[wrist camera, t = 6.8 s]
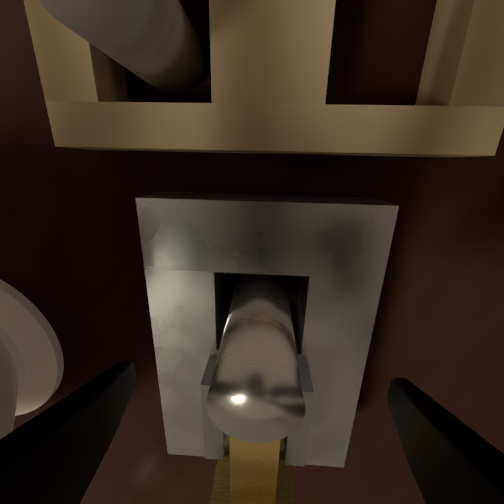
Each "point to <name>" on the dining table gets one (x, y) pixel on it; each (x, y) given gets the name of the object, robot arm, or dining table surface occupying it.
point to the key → (253, 475)
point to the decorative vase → (25, 357)
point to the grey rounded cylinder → (257, 365)
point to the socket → (273, 263)
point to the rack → (259, 80)
